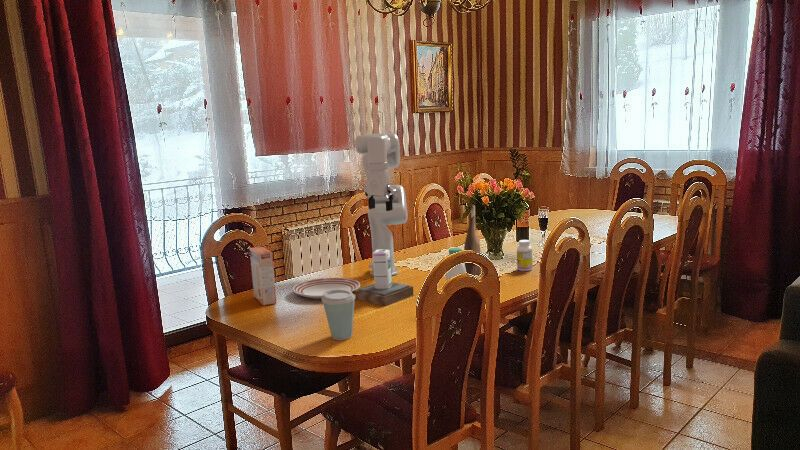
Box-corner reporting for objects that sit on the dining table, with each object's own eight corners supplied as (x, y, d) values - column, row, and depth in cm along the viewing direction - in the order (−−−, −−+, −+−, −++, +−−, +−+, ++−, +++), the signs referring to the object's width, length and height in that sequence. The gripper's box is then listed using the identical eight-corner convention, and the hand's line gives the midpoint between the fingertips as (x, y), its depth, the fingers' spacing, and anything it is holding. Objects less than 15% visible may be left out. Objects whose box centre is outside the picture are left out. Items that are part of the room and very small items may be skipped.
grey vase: (456, 283, 246) (453, 207, 239) (463, 275, 257) (460, 202, 250) (483, 285, 242) (480, 208, 235) (488, 276, 253) (486, 202, 246)
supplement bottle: (516, 267, 264) (515, 239, 262) (531, 267, 264) (530, 238, 262) (518, 271, 258) (517, 242, 255) (533, 271, 257) (533, 242, 255)
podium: (355, 299, 232) (355, 289, 231) (384, 289, 243) (383, 279, 242) (385, 306, 221) (384, 295, 220) (413, 295, 232) (413, 285, 232)
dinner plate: (338, 280, 262) (338, 272, 261) (373, 292, 240) (373, 284, 239) (281, 293, 246) (281, 285, 245) (313, 308, 224) (312, 299, 224)
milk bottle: (446, 304, 219) (443, 251, 215) (447, 298, 226) (445, 246, 223) (467, 304, 217) (465, 251, 214) (467, 297, 225) (465, 246, 221)
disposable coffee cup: (363, 332, 194) (360, 288, 192) (348, 344, 185) (344, 298, 182) (335, 329, 199) (332, 286, 196) (318, 341, 189) (314, 296, 186)
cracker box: (277, 303, 232) (272, 251, 228) (262, 306, 229) (257, 253, 225) (268, 295, 244) (263, 245, 240) (253, 297, 241) (248, 247, 238)
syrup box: (389, 289, 228) (387, 252, 226) (374, 289, 230) (372, 252, 227) (392, 284, 234) (390, 249, 231) (378, 284, 235) (375, 249, 232)
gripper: (356, 167, 239) (359, 209, 242) (387, 169, 227) (389, 213, 231) (369, 165, 244) (372, 206, 247) (400, 166, 232) (402, 209, 236)
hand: (380, 209), depth 239 cm, fingers open, 9 cm apart
